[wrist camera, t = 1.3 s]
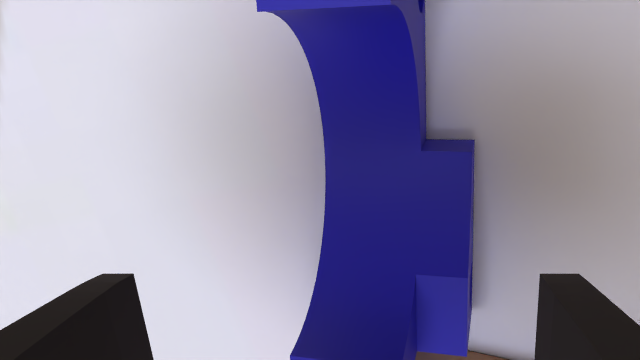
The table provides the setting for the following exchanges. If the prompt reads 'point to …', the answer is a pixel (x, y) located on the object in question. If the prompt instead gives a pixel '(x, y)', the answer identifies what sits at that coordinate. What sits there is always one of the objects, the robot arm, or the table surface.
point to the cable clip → (383, 189)
